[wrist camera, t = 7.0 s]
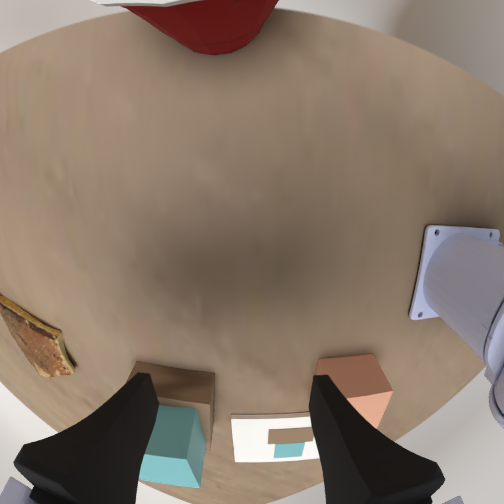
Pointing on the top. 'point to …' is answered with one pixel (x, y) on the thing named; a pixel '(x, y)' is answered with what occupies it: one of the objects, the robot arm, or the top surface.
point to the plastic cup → (203, 20)
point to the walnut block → (184, 391)
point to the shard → (37, 341)
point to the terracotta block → (359, 383)
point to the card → (273, 437)
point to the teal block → (175, 448)
